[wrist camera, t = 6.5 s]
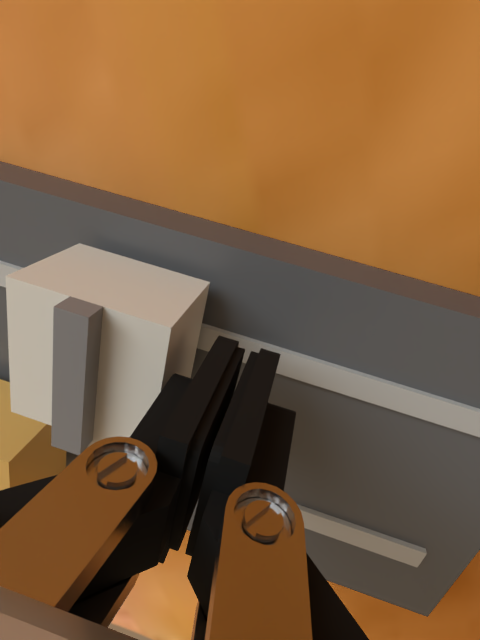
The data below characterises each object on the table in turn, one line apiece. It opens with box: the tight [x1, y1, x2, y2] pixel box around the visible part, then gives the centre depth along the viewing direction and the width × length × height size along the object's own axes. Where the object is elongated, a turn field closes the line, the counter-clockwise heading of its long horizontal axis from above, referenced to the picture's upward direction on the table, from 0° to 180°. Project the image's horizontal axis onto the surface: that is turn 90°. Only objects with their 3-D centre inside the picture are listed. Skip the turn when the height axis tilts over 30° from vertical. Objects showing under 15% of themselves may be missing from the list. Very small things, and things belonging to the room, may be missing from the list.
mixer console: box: [0, 161, 480, 617], centre depth 15 cm, size 20×12×2 cm, turn 77°
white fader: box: [6, 243, 210, 455], centre depth 11 cm, size 4×4×4 cm
